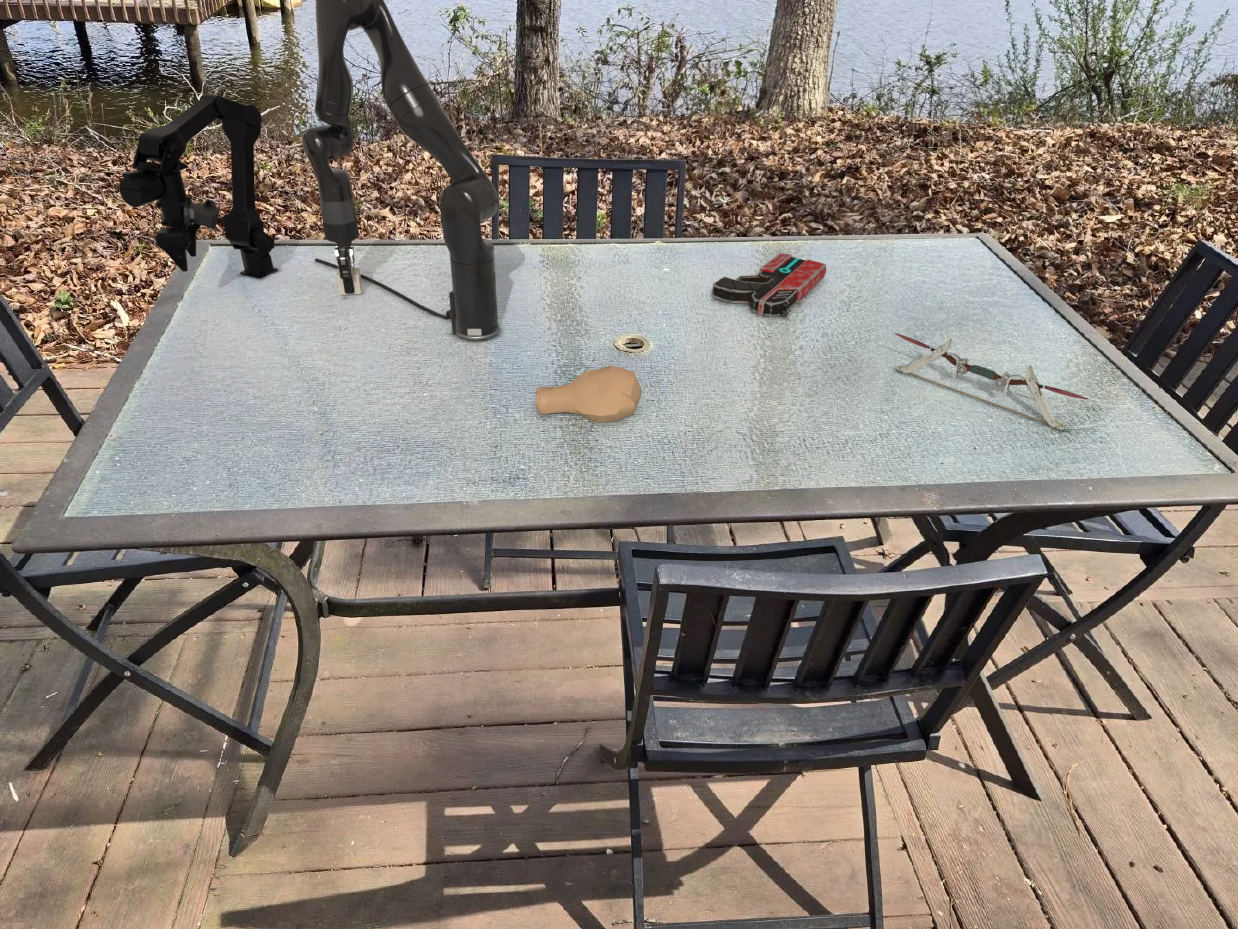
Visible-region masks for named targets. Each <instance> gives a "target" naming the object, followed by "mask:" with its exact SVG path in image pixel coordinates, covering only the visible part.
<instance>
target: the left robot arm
mask: <svg viewBox="0 0 1238 929" xmlns="http://www.w3.org/2000/svg"><path fill="white" fill-rule="evenodd" d="M261 113H262V112H261V111H259V109H258V108H257V106H255V105H253V104H249V103H241V102H237V101H234V100H231V99H229V98H226V97H225V96H223V95H218V94H211V93H204V94H202V95H201V96H200V97H199V99H198V100H197V101H196V102H194V103H193V104H192V105H190V106H189V107H188V108H187V109H186V110H184V111H183V112H182V113H180V114H179V115H178V116H176V117H175V118H174V119H172V120H170V122H169V123H166V124H164V125H160V126H159V125H158V126H156V127H152V128H150V129H148V130H145V131H143V132H142V133H141V134H140V135H139V136H138V138H137V141H138V143H137V146H136V150H135V154H134V159H133V162H132V166H131V167H132V169H133V170H131V171H125V172H122V178H123V179H122V180H121V181H120V182H119V188H118V192H119V194H120V196H121V198H122V200H123V201H124V202H125V203H126V204H127V205H128V206H130V207H132V208H139V207H143V206H145V205H148V204H150V203H153V202H155V206H156V208H160V212H161V216H162V219H161V221H160V222H161V223H160V224H161V226H162V227H161V228H160V229H159V230H158V232H157V233H156V234H155V236H154V241H155V246H156V247H158V248H159V249H160V250H162V251H164V253H165V254H167V256H168V257H169V258H170V259H171V260H172V261H173V263H174V264H175V265H176V266H177V267H178V269H179V270H180V271H181V272H188V271H189V267H188V266H189V265H188V255H187V253H188V254H189V256H190V257H192V258H194V257H196V256H197V234H198V233H197V231H198V230H199V229H200V228H201V227H202V226H203V227H206V228H207V229H209V230H210V229H211V230H214V229H216V227H217V225H218V223H219V216H220V210H219V209H220V208H219V207H217V205H216V203H215V200H214V199H209V198H206V199H205V201H204V202H203V203H201V202H198V203H196V202H193V200H192V199H193V198H192V197H191V196H190V194H187V192H186V188H185V184H184V180H183V176H182V173H181V172H182V170H186V169H188V167H189V166H188V164H186V163H184V162H183V161H182V160H180V159H181V157H182V156H183V155H184V153H185V152H186V151H187V144H189V142H190V141H191V140H192V139H193V138H194V137H195V136H197V135H199V133H201V132H202V131H204V130H205V128H207V127H209V126H210V125H211V124H212V123H213V122H214V121H215V120H219V121H221V127H222V131H223V133H224V135H225V136H226V138H227V140H228V141H229V143H230V165H231V197H232V208H231V209H230V211H229V212H228V214H227V213H225V214H223V230H222V232H223V233H224V234H225V238H226V240H228V242H229V243H230V244H231V247H232V248H233V249H234V250H239V251H240V255H241V259H242V264H243V268H244V270H242V271H240V272H239V273H240V275H241V276H246V277H250V278H254V279H258V280H259V279H260V280H261V279H263V278H265V277H267V276H270V275H272V274H273V273H276V272H278V271H279V269H278V268H277V267H274V264H273V259H272V255H271V252H272V250H274V249H275V244H276V243H275V241H276V240H275V239H274V238H273V237H272V236H271V235H269V234H268V233H266V232H265V229H264V223H263V220H262V218H261V216H260V215H259V212H258V210H257V208H256V184H255V182H256V180H255V178H256V177H255V144H256V142H257V141H258V139H259V137H260V136H261V134H262V133H261V131H262V121H263V119H262V114H261Z"/></svg>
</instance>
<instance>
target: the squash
mask: <svg viewBox="0 0 1238 929" xmlns="http://www.w3.org/2000/svg"><path fill="white" fill-rule="evenodd" d="M642 393H643V390H642V387H641V386H640V383H639V380H638V378H637V376H636V373H635V372H634V371H632V370H629V369H627V368H623V367H621V366H615V365H611V364H610V365H607V366H603V367H601V368H596V369H591V370H585V371H584V372H582V373H580V374H579V375H578V376H577V377H576V378H575V379H574V380H572V381H571V382H569V383H568V384H566V385H556V386H538V387H536V388H535V396H536V400H535V405H534V408H535V410H537V412H538V414H540V415H549V414H557V413H558V414H559V413H561V414H562V413H570V414H575V415H576V414H577V415H580V416H582V417H584V418H586V419H588V420H590V421H593V422H596V423H598V424H602V423H617V422H620V421H622V420H624V419H625V418H627V417H629V416H631V415H633V414H635V413H636V412H637V409H638V406H639V403H640V399H641V397H642Z"/></svg>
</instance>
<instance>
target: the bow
mask: <svg viewBox="0 0 1238 929" xmlns="http://www.w3.org/2000/svg"><path fill="white" fill-rule="evenodd" d="M894 335H895V336H897V337H899V338H901V339H903V340H904V341H906V342H908V343H911V344H914V345H916V346H919V347H921V348H924V349H927V350H930V351H931V353H930V354H928V355H925V356H921V357H920V358H918V359H916V360H915V361H913V362H912V363H911V364H910V365H898V366H896V370H897V371H898V372H900V373H902V374H909V375H912V376H915V377H918V378H921V379H923V380H926V381H928V382H931V383H934V384H936V385H940V386H942V387H945V388H948V389H950V390H953V391H956V392H959V393H962V394H964V395H967V396H970V397H972V398H976V399H977V400H980V401H984V402H986V403H989V404H992V405H995V406H998V407H1000V408H1003V409H1005V410H1009V411H1011V412H1014V413H1016V414H1019V415H1022V416H1025V417H1027V418H1030V419H1033V420H1036V421H1039V422H1041V423H1044V424H1046V425H1049V426H1050V427H1052V428H1053V429H1056V430H1061V431H1062V430H1065V428H1066V427H1067V425H1065V424H1064V423H1062V422H1061V421H1060V420H1058V419H1056V418H1055V414H1054V412H1053V409H1052V406H1051V405H1050V403H1049V402H1048V400H1047V398H1046V396H1045V395H1044V394H1043V393H1042V390H1041V389H1043V388H1044V389H1045V390H1047V391H1050V392H1053V393H1056V394H1058V395H1063V396H1065V397H1070V398H1074V399H1081V400H1089V399H1090V398H1088V397H1085V396H1083V395H1080V394H1077V393H1074V392H1071V391H1068V390H1065V389H1062V388H1057V387H1053V386H1049V385H1044V384H1040V383H1039V379H1038V378H1037V376H1036V374H1035V373H1034V369H1033V366H1032V365H1031V364H1030V365H1028V366H1027V367H1026V371H1025V375H1024V376H1022V375H1020V374H1011V373H1009V372H1008V371H1005V372H1004V373H1003V374H1001V375H1000V374H998V373H997V372H996V371H995V370H993V369H989V368H987V367H984V366H981V365H978V364H972V365H971V364H969V358H968V357H967V358H961V356H959V355H958V354H957V353H955V352H952V351H950V352H949V350H950V348H951V345H952V342H953V339H952V338H949V339H948V340H947V341H946V342H945V343H944V344H941V345H939V346H937V347H936V348H934V347H931V346H930V345H928V344H926V343H924V342H922V341H919V340H917V339H914V338H911V337H909V336H906V335H902V334H900V333H897V332H894ZM942 358H944V359H945V360H947V362H949V363H950V364H951V365H953V366H955V367H954V370H953V372H952V374H951V377H952V378H954V379H956V378H957V377H959V376H958V375H959V374H960V375H962V376H965V375H966V374H967V373H968V372H969V373H971V374H974V375H977V376H980V377H983V378H986V379H989V380H992V381H995V382H994V385H995V386H996V387H997V388H998V389H999V388H1000V389H1003V390H1002V394H1001V395H1002V396H1005V397H1007V396H1008V395H1009V394H1010V390H1011V389H1010V386H1026V388H1027V389H1028V391H1029V392H1030V394H1031V396H1032V397H1033V399H1034V401H1035V404H1036V406H1037V408H1038V410H1039V411H1040V414H1041V415H1042V417H1043V418H1044V420H1045V421H1043V420H1041V419H1038V418H1036V417H1033V416H1030V415H1027V414H1025V413H1022V412H1020V411H1017V410H1014V409H1012V408H1011V409H1010V408H1008V407H1005V406H1002V405H1000V404H997V403H994V402H992V401H989V400H986V399H983V398H981V397H978V396H975V395H972V394H971V393H967V392H964V391H961V390H958V389H956V388H953V387H950V386H948V385H945V384H942V383H940V382H937V381H934V380H931V379H929V378H925V377H922V376H920V375H918V374H915V373H913V372H915V371H919V370H921V369H922V368H924V367H925V366H927V365H929V364H930V363H933V362H935V361H937V360H940V359H942ZM1024 377H1025V378H1024Z"/></svg>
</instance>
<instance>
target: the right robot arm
mask: <svg viewBox="0 0 1238 929" xmlns="http://www.w3.org/2000/svg"><path fill="white" fill-rule="evenodd" d="M315 25H316V42H317V43H316V44H317V56H318V57H317V58H318V75H317V86H316V92H315V93H316V94H315V101H314V113H315V116H316V118H317V119H318V120H320V121H321V122H323V123H324V124H322V125H318V126H312V127H309V128H307V129H306V130H305V131H304V132H303V135H302V139H301V144H302V148H303V151H304V154H305V156H306V158H307V161H308V162H309V165H310V167H311V169H312V172H313V175H314V177H315V180H316V182H317V189H318V194H319V195H318V196H319V201H320V214H321V219H322V226H323V230H324V231H323V232H324V237H325V240H327V241H328V242H331V243H335V247H334V255H335V256H336V258H335V260H336V262H337V264H335V263H331V262H329V261H326V260H323V259H320V258H314V262H316V263H318V264H322V265H325V266H327V267H330V268H334V269H335V270H337V269H339V272H340V277H341V279H343V285H344V291H345V293H346V295H351V294H350V293H354V284H353V274H352V268H356V266H355V258H356V257H355V252H354V250H355V245H354V243H353V241H356V240H357V239H358V238H359V237H360V229H359V223H358V217H357V209H356V204H355V201H354V197H353V192H352V182H351V177H350V174H349V173H348V171H346V170H345V169H342V168H335V167H334V168H333V167H331V165H330V163H329V161H330V160H336V159H341V158H345V157H347V156H348V155H350V154H351V152H352V150H353V147H354V144H355V143H354V136H353V135H354V134H353V129H352V122H351V121H352V120H351V108H352V102H353V96H354V83H353V82H354V81H353V76H352V74H351V71H350V69H349V66H348V64H347V62H346V59H345V55H344V48H345V43H346V42H345V41H346V38H347V35H348V33H349V31H354V30H357V29H361V28H362V30H363V31H364V32H365V34H366V35H367V38H368V39H369V40H370V42H371V44H372V46H373V48H374V50H375V52H376V55H377V59H378V63H379V73H380V84H381V93H382V95H383V100H384V102H385V104H386V106H387V108H388V110H389V111H390V113H391V115H392V117H393V118H394V119H395V121H396V123H397V125H398V126H399V127H400V129H401V130H402V131H403V134H405V135H406V136H407V137H408V138H409V139H410V140H411V141H413V142H414V143H415V144H416V145H417V146H418V147H420V148H421V149H422V150H424V151H425V152H427V153H428V154H429V155H430V156H432V157H433V158H434V159H435V160H436V161H437V162H438V163H439V164H440V165H441V167H442V168H443V169H444V171H445V172H446V174H447V175H448V177H449V179H450V180H451V183H450V184H448V185H446V186H445V187H444V188H443V189H442V191H441V194H440V198H439V210H440V211H439V212H440V219H441V225H442V234H443V240H444V244H445V246H446V248H447V251H448V253H449V263H450V264H449V265H450V275H451V276H450V277H451V286H452V290H451V291H450V292H448V297H449V310H447V311H445V315H443V314H440V313H438V312H437V311H434V310H432V309H430V308H428V307H426V306H424V305H422V304H420V303H418V302H416V301H415V300H413V299H411V298H410V297H408V296H406V295H404V294H402V293H401V292H398V291H397V290H395V289H393V288H391V287H389V286H387V285H385V284H384V283H381V282H379V281H377V280H375V279H373V278H370V277H369V276H366V275H364V274H362V273H360V276H361V280H362V279H363V280H364V281H367V282H369V283H371V284H374V285H376V286H378V287H380V288H382V289H384V290H385V291H387V292H390V293H392V294H393V295H395V296H397V297H398V298H400V299H402V300H404V301H406V302H408V303H409V304H411V305H412V306H414V307H416V308H418V309H420V310H422V311H424V312H426V313H428V314H430V315H432V316H434V317H438V318H440V319H443V320H450V322H451V332H452V334H453V335H456V336H457V337H458V338H460V339H462V340H464V341H470V342H479V341H481V342H482V341H486V340H487V341H488V340H491V339H493V338H494V337H495V338H496V337H497V335H499V333H500V325H499V312H498V311H499V310H498V296H497V295H498V294H497V293H498V292H497V276H496V275H497V274H496V261H495V259H496V258H495V248H494V244H493V242H492V241H491V240H490V239H488V238H485V237H483V235H482V234H483V233H482V232H483V231H482V226H481V225H482V223H484V222H486V221H488V220H489V219H491V218H493V217H494V216H495V215H496V214H497V212H498V210H499V206H500V201H499V196H498V192H497V189H496V188H495V186H494V184H493V182H492V181H491V178H489V176H488V174H486V172H485V171H484V169H483V167H481V165H480V164H479V163H478V161H477V160H476V159H475V157H474V155H473V154H472V153H471V151H470V150H469V148H468V147H467V146H466V144H465V142H464V140H462V138H461V136H460V134H459V133H458V131H457V129H456V128H455V126H454V124H453V123H452V122H451V120H450V118H449V116H448V115H447V113H446V112H445V110H444V107H443V106H442V104H441V103H440V100H439V99H438V97H437V95H436V93H435V92H434V90H433V88H432V87H431V85H430V84H429V82H428V80H427V79H426V77H425V75H424V74H423V73H422V71H421V70H420V68H419V66H418V64H417V63H416V61H415V59H414V56H413V55H412V54H411V52H410V50H409V48H408V46H407V45H406V43H405V41H404V39H403V37H402V36H401V33H400V31H399V30H398V27H397V25H396V22H395V21H394V19H393V17H392V15H391V12H390V10H389V8H388V6H387V4H386V2H385V0H315ZM343 271H348V273H344V272H343Z"/></svg>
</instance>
